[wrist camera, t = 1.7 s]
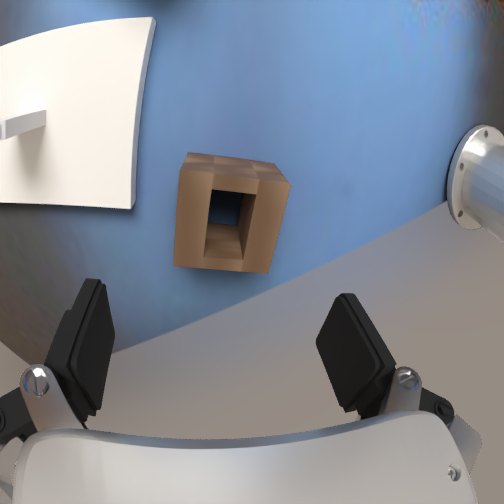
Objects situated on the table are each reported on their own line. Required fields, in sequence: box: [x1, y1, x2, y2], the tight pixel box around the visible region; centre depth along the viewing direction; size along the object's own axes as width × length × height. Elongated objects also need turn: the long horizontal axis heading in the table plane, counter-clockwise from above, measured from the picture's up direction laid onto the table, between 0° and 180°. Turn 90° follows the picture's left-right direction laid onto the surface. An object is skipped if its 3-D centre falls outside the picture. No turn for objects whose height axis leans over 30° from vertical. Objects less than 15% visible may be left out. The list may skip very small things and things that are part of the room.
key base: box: [0, 17, 157, 209], centre depth 12 cm, size 18×14×8 cm
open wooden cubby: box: [174, 152, 291, 274], centre depth 19 cm, size 6×6×5 cm
